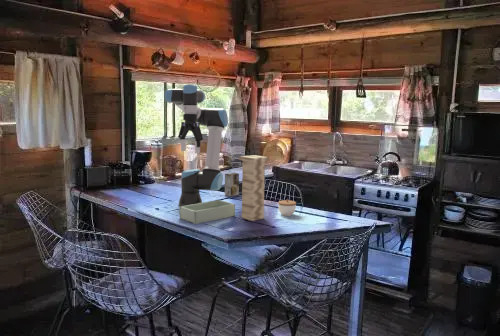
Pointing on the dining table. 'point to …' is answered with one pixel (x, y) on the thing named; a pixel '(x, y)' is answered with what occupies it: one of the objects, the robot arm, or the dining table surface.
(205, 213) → the bin
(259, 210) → the stand
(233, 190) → the coffee box
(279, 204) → the lidded jar
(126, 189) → the dining table surface
